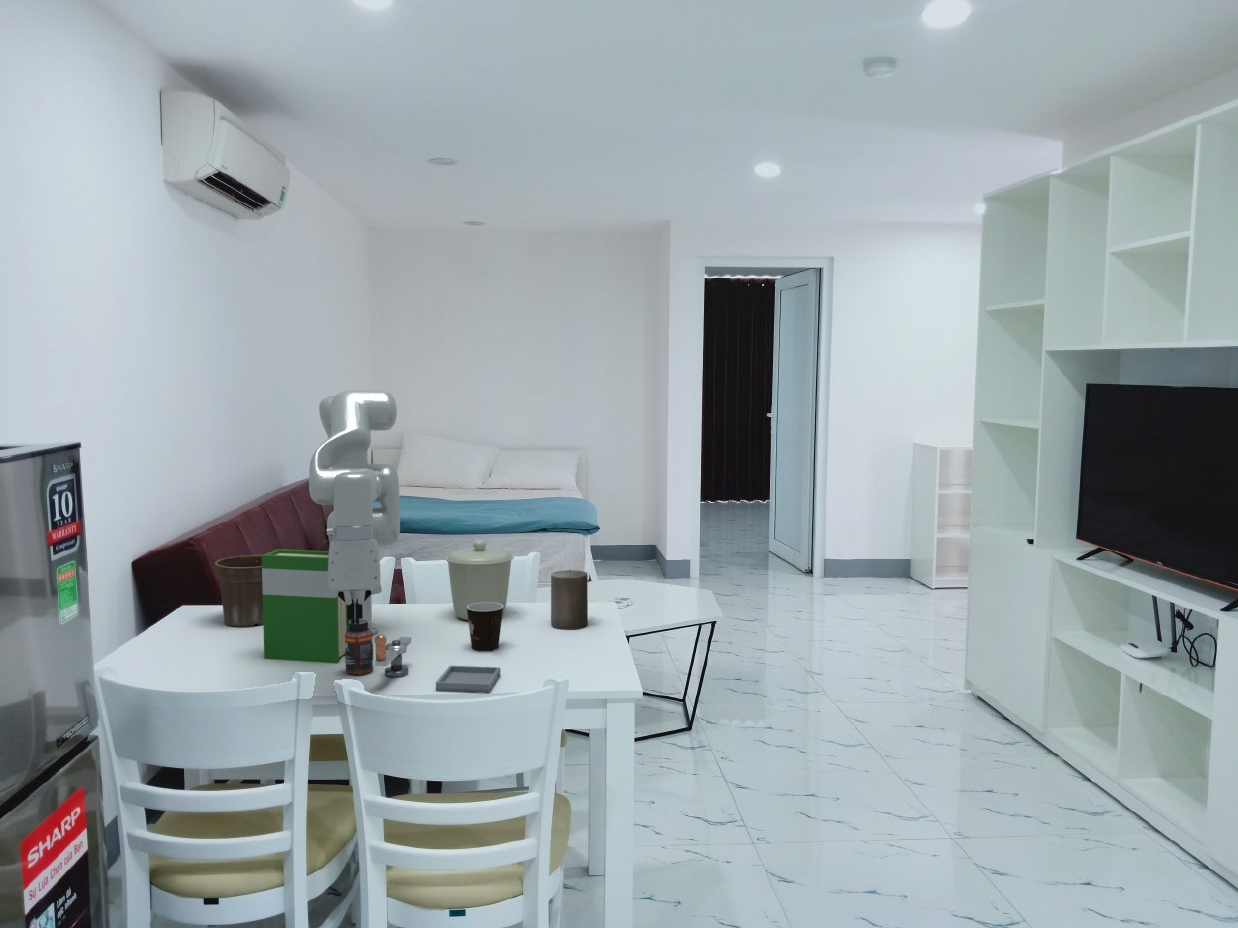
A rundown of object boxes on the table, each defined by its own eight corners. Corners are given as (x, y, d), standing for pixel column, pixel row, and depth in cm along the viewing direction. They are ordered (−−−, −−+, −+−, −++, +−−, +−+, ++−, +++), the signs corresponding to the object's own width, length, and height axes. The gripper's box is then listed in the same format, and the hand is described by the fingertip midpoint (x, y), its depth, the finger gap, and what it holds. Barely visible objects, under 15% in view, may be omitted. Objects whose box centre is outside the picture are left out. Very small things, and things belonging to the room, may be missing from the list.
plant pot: (291, 613, 252) (290, 554, 250) (271, 629, 235) (269, 567, 234) (231, 613, 251) (229, 554, 249) (206, 629, 235) (204, 566, 233)
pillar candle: (593, 627, 241) (594, 570, 240) (558, 631, 237) (559, 573, 236) (578, 618, 250) (579, 563, 249) (544, 622, 246) (545, 566, 245)
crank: (396, 641, 209) (396, 613, 209) (415, 642, 209) (415, 613, 208) (368, 667, 191) (368, 635, 191) (389, 668, 191) (389, 636, 190)
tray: (435, 690, 192) (435, 682, 192) (449, 673, 203) (449, 665, 203) (489, 692, 191) (489, 684, 191) (500, 675, 202) (500, 667, 202)
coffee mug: (468, 642, 227) (468, 602, 226) (503, 642, 227) (503, 602, 226) (464, 657, 215) (464, 614, 214) (501, 656, 216) (502, 614, 215)
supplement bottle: (379, 669, 206) (378, 619, 205) (363, 677, 200) (362, 625, 199) (356, 665, 208) (355, 616, 207) (339, 674, 202) (338, 623, 201)
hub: (381, 677, 200) (381, 656, 200) (389, 669, 205) (388, 649, 205) (404, 678, 200) (403, 657, 199) (411, 670, 205) (411, 650, 204)
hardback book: (351, 653, 217) (349, 552, 214) (337, 663, 209) (335, 558, 207) (280, 649, 219) (278, 549, 217) (264, 658, 212) (261, 555, 210)
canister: (515, 608, 260) (516, 533, 258) (510, 625, 242) (510, 546, 240) (450, 608, 259) (450, 533, 257) (440, 625, 241) (440, 545, 239)
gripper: (313, 537, 182) (315, 629, 184) (392, 534, 186) (393, 624, 188) (315, 531, 190) (317, 620, 191) (391, 529, 194) (392, 616, 195)
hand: (355, 622), depth 189 cm, fingers closed
